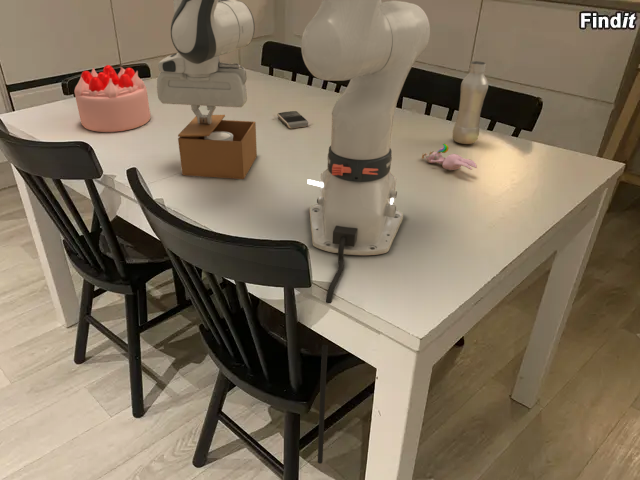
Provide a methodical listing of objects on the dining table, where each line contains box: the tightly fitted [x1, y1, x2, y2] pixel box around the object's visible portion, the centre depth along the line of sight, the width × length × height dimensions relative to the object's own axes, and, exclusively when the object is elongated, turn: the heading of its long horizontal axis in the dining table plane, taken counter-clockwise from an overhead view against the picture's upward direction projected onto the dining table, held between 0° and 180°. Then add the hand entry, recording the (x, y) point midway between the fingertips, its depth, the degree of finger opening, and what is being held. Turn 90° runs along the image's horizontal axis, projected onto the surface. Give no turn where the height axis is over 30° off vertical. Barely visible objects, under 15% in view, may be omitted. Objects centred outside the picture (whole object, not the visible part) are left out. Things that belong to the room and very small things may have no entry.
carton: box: [177, 119, 258, 180], centre depth 133 cm, size 14×15×9 cm
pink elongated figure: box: [421, 143, 478, 171], centre depth 131 cm, size 6×6×15 cm
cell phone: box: [277, 110, 309, 130], centre depth 161 cm, size 6×11×1 cm, turn 18°
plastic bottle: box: [452, 60, 489, 145], centre depth 141 cm, size 6×7×20 cm
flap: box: [177, 114, 226, 138], centre depth 131 cm, size 14×7×1 cm, turn 170°
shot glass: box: [204, 131, 233, 141], centre depth 134 cm, size 7×7×7 cm
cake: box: [74, 64, 151, 133], centre depth 159 cm, size 20×20×14 cm
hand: (204, 123), depth 130 cm, fingers closed
